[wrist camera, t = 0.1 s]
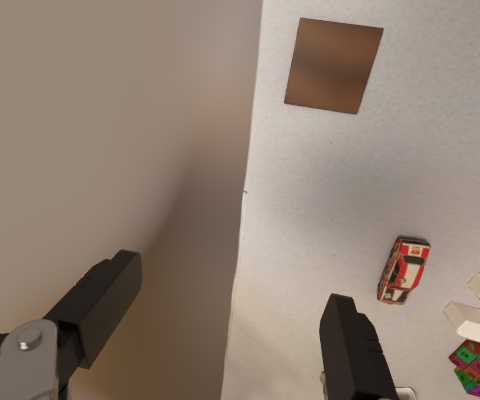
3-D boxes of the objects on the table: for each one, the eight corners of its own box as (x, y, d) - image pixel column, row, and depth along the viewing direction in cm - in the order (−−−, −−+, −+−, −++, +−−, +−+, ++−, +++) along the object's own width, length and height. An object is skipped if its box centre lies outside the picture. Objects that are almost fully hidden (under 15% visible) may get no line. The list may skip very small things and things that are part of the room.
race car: (425, 235, 41) (443, 249, 36) (398, 300, 44) (412, 319, 40) (392, 229, 41) (405, 242, 37) (368, 293, 45) (378, 312, 41)
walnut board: (300, 18, 30) (300, 17, 29) (381, 29, 29) (384, 28, 29) (283, 102, 34) (283, 103, 33) (355, 113, 33) (356, 114, 33)
